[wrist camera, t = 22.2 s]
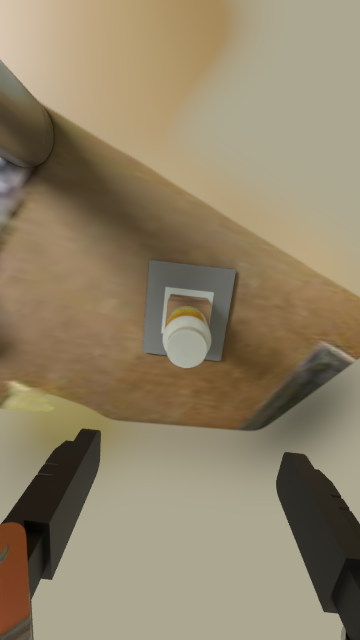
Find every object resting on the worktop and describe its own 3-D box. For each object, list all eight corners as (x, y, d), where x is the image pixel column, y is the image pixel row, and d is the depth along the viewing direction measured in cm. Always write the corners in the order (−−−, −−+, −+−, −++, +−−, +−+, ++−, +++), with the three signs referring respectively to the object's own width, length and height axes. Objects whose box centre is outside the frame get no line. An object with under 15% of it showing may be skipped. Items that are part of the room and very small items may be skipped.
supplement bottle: (213, 329, 31) (225, 357, 22) (181, 349, 32) (179, 384, 23) (192, 297, 30) (195, 312, 21) (159, 318, 31) (148, 342, 22)
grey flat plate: (143, 350, 41) (142, 352, 40) (150, 260, 37) (149, 259, 36) (219, 359, 41) (220, 361, 40) (234, 269, 37) (236, 269, 36)
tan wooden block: (167, 328, 39) (163, 342, 32) (170, 293, 37) (167, 300, 30) (202, 332, 39) (205, 347, 32) (207, 298, 37) (211, 305, 30)
